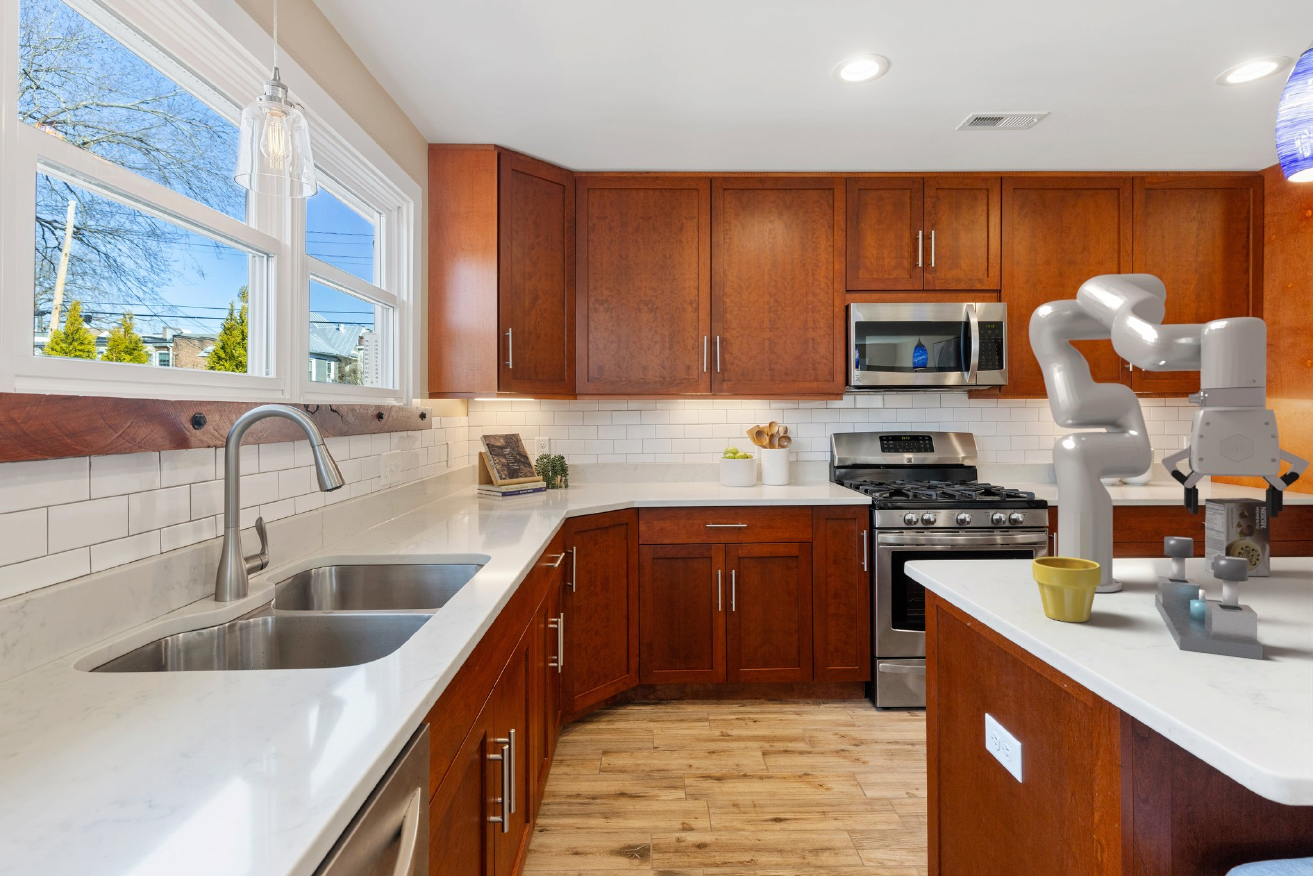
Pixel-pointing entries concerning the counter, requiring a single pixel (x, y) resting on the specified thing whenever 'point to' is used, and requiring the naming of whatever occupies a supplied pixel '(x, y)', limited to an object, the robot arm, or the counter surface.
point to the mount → (1207, 621)
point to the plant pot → (1067, 586)
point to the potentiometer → (1198, 606)
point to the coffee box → (1238, 532)
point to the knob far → (1178, 553)
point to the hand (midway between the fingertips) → (1231, 514)
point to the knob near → (1230, 576)
